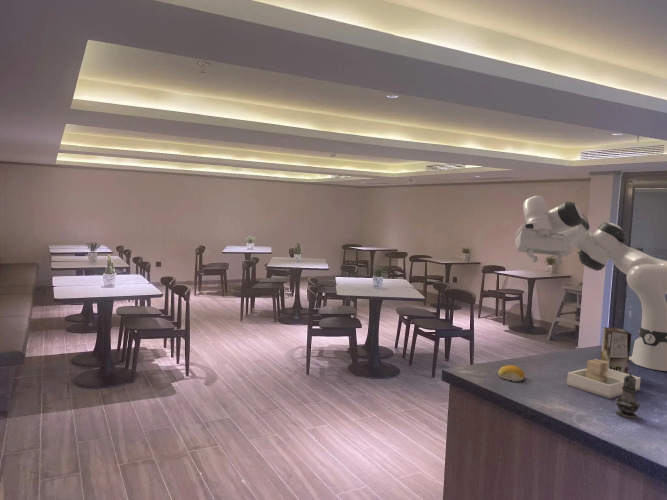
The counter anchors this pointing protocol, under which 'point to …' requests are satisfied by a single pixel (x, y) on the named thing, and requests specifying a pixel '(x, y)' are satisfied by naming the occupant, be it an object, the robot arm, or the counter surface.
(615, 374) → the caddy
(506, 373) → the bread roll
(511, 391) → the counter surface
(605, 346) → the coffee box
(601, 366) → the maple block
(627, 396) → the dark grey upright piece
